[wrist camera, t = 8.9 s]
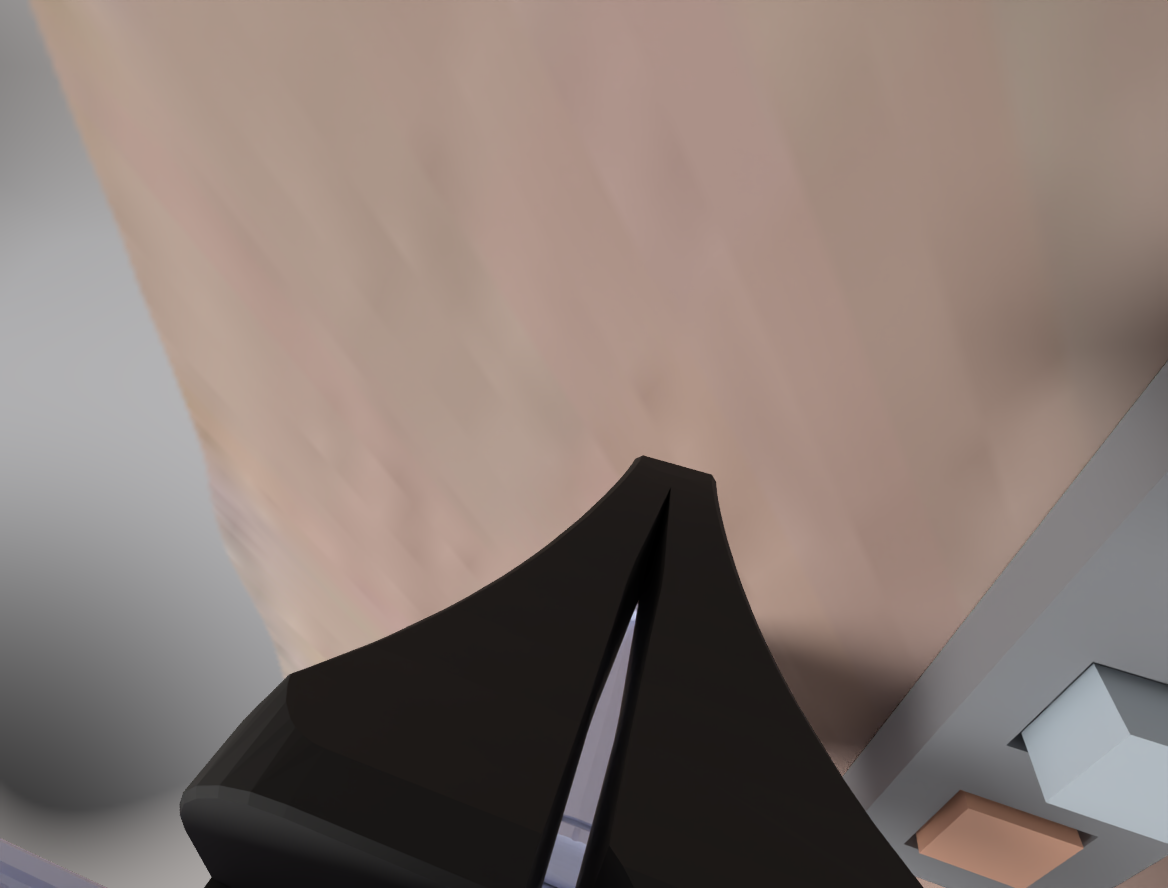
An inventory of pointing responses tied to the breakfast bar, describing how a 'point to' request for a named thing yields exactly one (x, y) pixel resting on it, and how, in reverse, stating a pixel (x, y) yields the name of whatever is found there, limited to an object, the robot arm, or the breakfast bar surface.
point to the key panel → (1038, 662)
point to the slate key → (1106, 750)
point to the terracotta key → (996, 840)
